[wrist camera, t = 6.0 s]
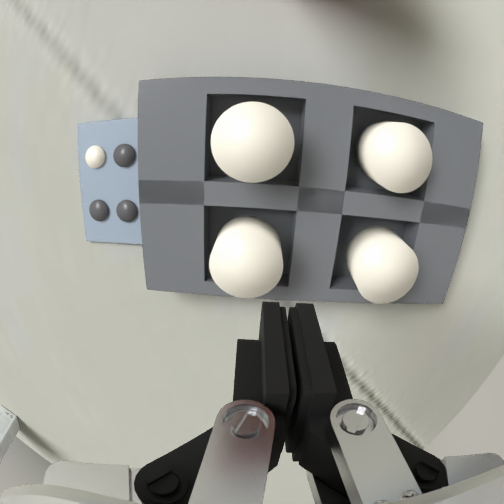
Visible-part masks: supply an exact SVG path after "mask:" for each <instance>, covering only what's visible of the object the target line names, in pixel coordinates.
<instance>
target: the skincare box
mask: <svg viewBox="0 0 504 504" xmlns="http://www.w3.org/2000/svg"><path fill="white" fill-rule="evenodd" d="M19 429H20V427H19V423H18V420H17V416H16V415H14V414H13V413H11V412H10V411H8V410H7V409H6V408H4V407H3V406H0V463H1V461H2V459H3V458H4V456H5V454H6V452H7V450H8V448H9V447H10V445H11V443H12V441H13V439H14V437H15V436H16V434H17V432H18V431H19Z"/></svg>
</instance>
